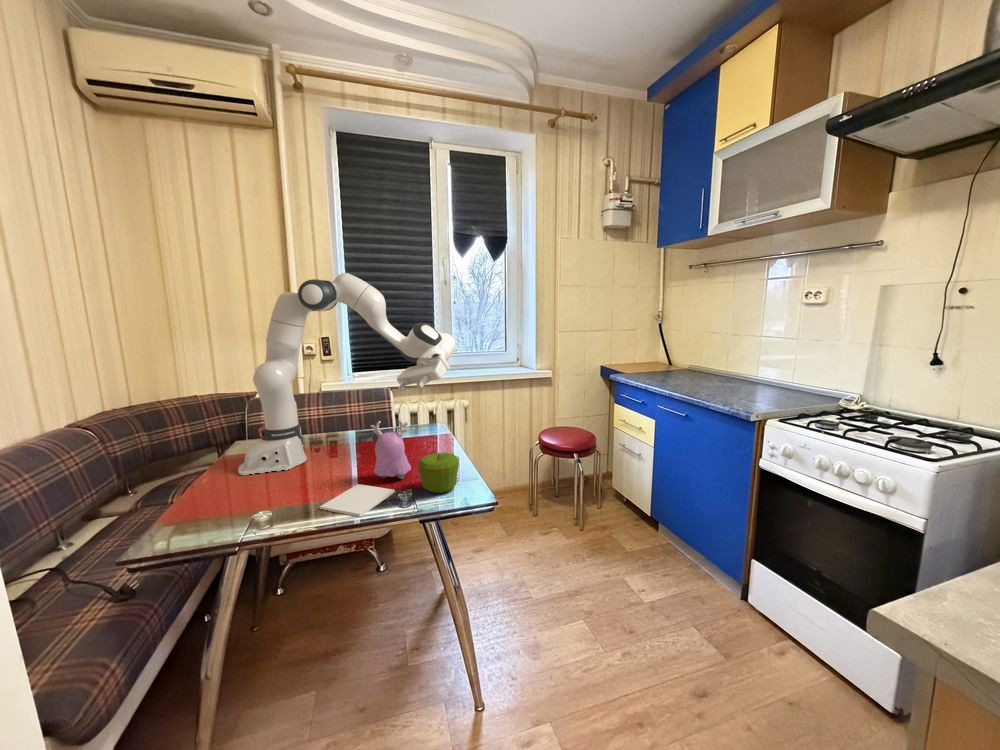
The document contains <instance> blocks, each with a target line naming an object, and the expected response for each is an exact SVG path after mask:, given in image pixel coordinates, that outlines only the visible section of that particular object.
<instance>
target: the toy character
mask: <svg viewBox="0 0 1000 750" xmlns="http://www.w3.org/2000/svg"><path fill="white" fill-rule="evenodd" d="M397 421H398V424H399V431H398V432H396V431H387V432H382V431H381V430H380V425H381V421H380V420H379V421H378V422H376V425H375V424H373V425H372V424H370V428H372V429H373V430H372V432H373V433H374V434H377V435H376V436H377V441H376V443H375V446H374V452H375V457H376V460H375V463H374V465H375V466H374V469H373V474H374V475H376V476H378V477H380V478H381V479H382V480H384V479H386V478H387V477H393V478H394V477H395V476H396V477H397V478H399V479H400V480H403V479H404V478H405V474H407V473H408V472H409V471H411V469H412V467H411V464H410V462H409V461H408V457H407V455H406V453H405V442H404V439H403V433H404V432H405V433H406V432H408V429H405V428H406V426H408V425H409V423H408V422H407V421H406V422H403V421H402V420H401V419H398V420H397Z"/></svg>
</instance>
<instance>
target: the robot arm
mask: <svg viewBox="0 0 1000 750" xmlns="http://www.w3.org/2000/svg"><path fill="white" fill-rule="evenodd" d="M338 303H340V304H343V305H346V307H347V306H348V307H349V308H350V309H352V310H353V311H355V312H356V313H358V314H359V315H360V316H361V318H363V319H364V320H365V322H366V323H367V324H368V326H369V328H370V329H372V331H374V332H375V333H376V334H377V335H378V336H379V337H381V338H382V339H383V340H385V341H386V342H387V343H388V344H389V345H391V346H392V347H393V348H394V349H396V350H397V352H398V353H399V354H400V356H402V358H403V359H405V361H408V362H412V363H416V365H414V366H413V365H412V366H408V367H407V368H405V369H404V370H403V371H402V372H401V373H400V374H399V375H398V376H397V378H396V381H397V382H398V384H399V386H398V390H399V391H400V392H403V391H405V389H406V386H410V385H415V384H416V386H417V388H419V389H421V388H424V386H425V385H427V384H429V382H431V381H438V380H440V379H442V377H443V376H444V375H445V374H447V371H449V369H451V367H450V364H449V363H448V361H449V359H450V358H451V357H452V355H453V354H454V352H455V350H456V341H455V338H454V337H453V336H452V335H451V334H449V333H447V332H440V331H438V330H436V328H434V326H432V325H431V324H429V323H428V322H427V323H426V322H418V323H415V324H414V325H413V327H412V329H411V330H410V331H409V332H408V335H407V336H405V335H404V334H403V333H401V332H400V331H399V330H398V329H396V327H394V326H393V325H392V324H391V323H390V322H389V320H388V318H387V303H386V300H385V296H384V295H383V294H382V293H381V292H380V291H379V290H378V289H377V288H376V287H374V286H373V285H371V284H369V283H368V282H367V281H364V280H363V279H361V278H359V277H358V276H355V275H353V274H351V273H348V272H342V273H340V274H338V275H337V276H336V277H335V278H334V279H333V280H332V281H330V280H324V279H315V278H313V279H308V280H306V281H304V282H303V283H301V284H300V286H299V288H298V290H297V292H292V291H287V292H286V291H285V292H282V293H281V294H279V295H278V297H277V299H276V302H275V303H274V306H273V310H272V312H271V316H270V320H269V325H268V329H267V334H266V339H265V342H266V345H265V347H266V349H265V350H266V352H265V359H264V362H263V363H261V364H260V365H258V366H257V367H256V368H255V371H254V372H253V377H252V381H253V384H254V386H255V388H256V391H257V394H258V398H259V400H260V403H261V407H262V414H263V421H264V427H263V426H262V427H260V428H258V434H259V440H258V441H256V442H255V443H254V444H253V445H252V446H250V448H248V449H247V451H246V452H245V455H244V461H243V462H242V463H241V464H240V465H239V466H238V469H237V473H238V475H240V476H250V475H249V474H252V475H256V474H255V473H260V474H266V473H265V472H269V473H272V472H271V471H277V472H282V471H281V470H285V471H288V469H289V470H291V469H292V468H294V467H296V466H299V465H301V464H303V463H305V462H306V461H307V460H308V456H307V455H306V453H305V452H306V451H305V450H304V446H303V443H302V428H301V424H300V423H299V415H298V405H297V401H296V400H295V397H294V393H293V389H292V383H293V382H294V381H295V379H296V377H297V373H298V372H297V370H298V365H299V358H300V357H299V356H300V348H301V343H302V339H303V334H304V329H305V324H306V320H307V317H308V315H309V313H311V312H327V311H330V310H332V309H334V308H335V306H336V305H337V304H338Z"/></svg>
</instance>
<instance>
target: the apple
mask: <svg viewBox="0 0 1000 750" xmlns="http://www.w3.org/2000/svg"><path fill="white" fill-rule="evenodd" d="M459 466H460V458H459V457H458V456H456V455H455V454H454V453H452V452H451V453H450V452H436V453H432V454H428V455H425V456H423V457H421V458H420V460H419V461H418V464H417V471H418V473H419V474H418V475H419V476H420V480H421V485H422V488H423V489H424V490H426V491H428V492H430V493H432V494H444V492H445V493H447V491H448V492H450V491H451V490H452V489H453V488H455V486H456V485H457V484H458V471H459Z"/></svg>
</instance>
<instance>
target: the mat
mask: <svg viewBox="0 0 1000 750" xmlns="http://www.w3.org/2000/svg"><path fill="white" fill-rule="evenodd" d="M395 493H396V490H395V489H392V488H385V487H378V486H373V485H365V484H361V483H360V484H359V483H358V484H356V485H354V486H352V487H351V488H349V489H347V490H346V491H344V492H342V493H340V494H339V495H337V496H335V497H334V498H332V499H330V500H328V501H326V502H325V503H323V504H322V505H320V506H319V509H320V510H322V509H323V511H327V510H328V512H333V513H338V514H344V515H348V516H355V517H362V516H363V515H365V514H366V513H368V512H370V510H372V509H374V508H375V507H376V506H377V505H379V504H380V503H382V502H383V501H384V500H386V499H387V498H389V497H390V496H391V495H393V494H395Z"/></svg>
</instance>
